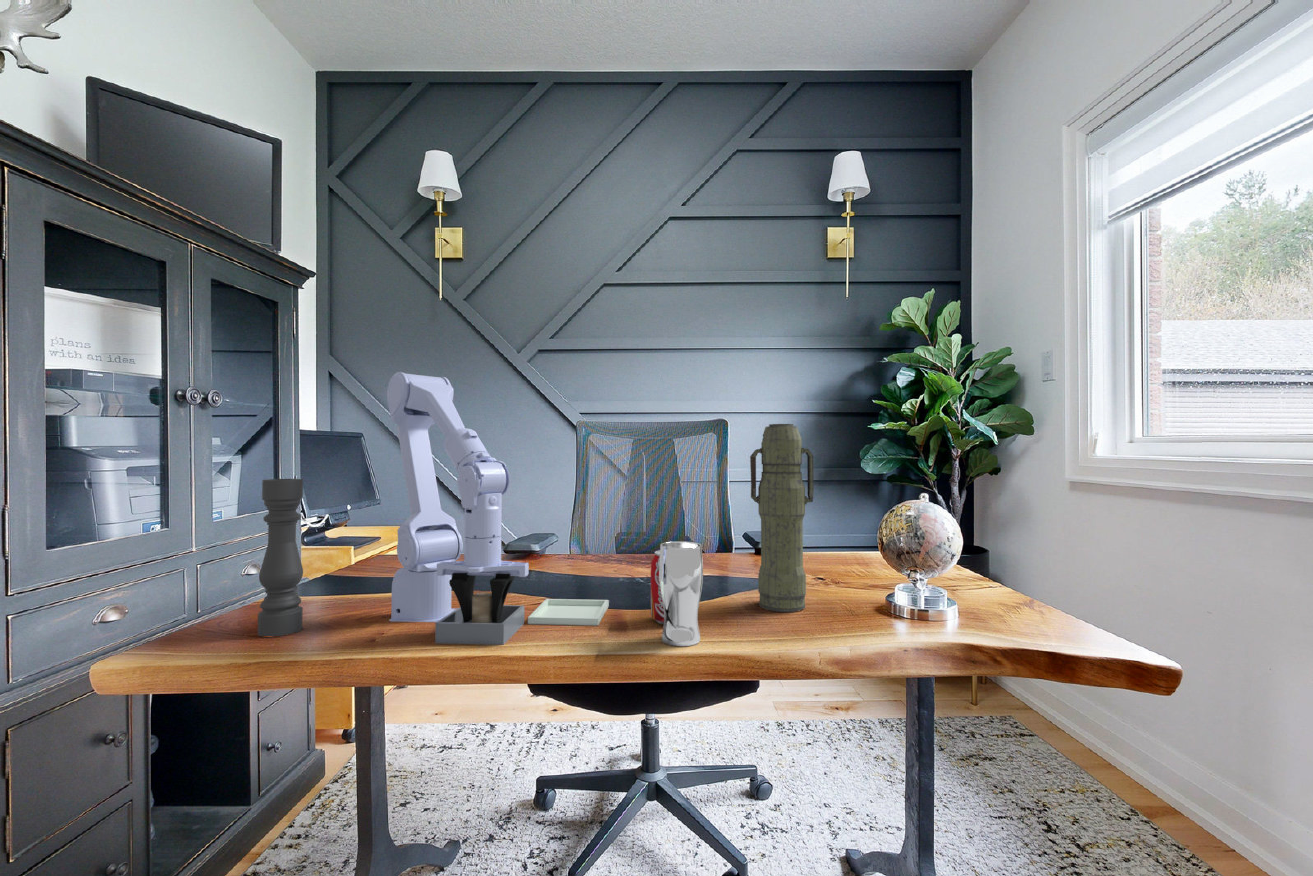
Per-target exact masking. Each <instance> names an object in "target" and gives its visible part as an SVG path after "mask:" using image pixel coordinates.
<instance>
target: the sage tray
mask: <svg viewBox="0 0 1313 876" xmlns="http://www.w3.org/2000/svg"><path fill="white" fill-rule="evenodd" d="M609 603H610V600H609V599H575V598H574V599H568V598H567V599H566V598H545V600H544V601H542V603H540V605H539V606H537V608H535V609H534V611H533V612H531V614H530V615H529V616H528V617H527V624H528V625H547V626H548V625H549V626H554V625H555V626H599V625H600V623H601V621H602V619H603V617H604V615H605V614H606V612H607V610H608V608H609V606H610V605H609Z"/></svg>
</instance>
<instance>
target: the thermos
mask: <svg viewBox="0 0 1313 876" xmlns="http://www.w3.org/2000/svg"><path fill="white" fill-rule="evenodd" d="M761 440H762V441H761V443H760V444H761V445H760V448H758V449H755V450H754V451H753V452H752V453H751V455H750V456H749V459H750V460H749V462H750V464H749V465H750V498H751V499H752V500H753V501H754V502H755V503H756V504H758V505H757V506H758V515H759V518H760V567H759V570H758V576H757V577H758V578H757V580H758V583H757V585H758V586H757V587H758V594H759V601H758V602H759V607H760V608H762V609H764V610H766V609H767V610H766V611H771V612H777V613H796V612H795V611H798V612H800V611H799V610H802V609H804V608H805V609H806V602H805V601H806V599H805V596H806V595H807V589H806V588H807V577H806V572H805V570H804V559H803V558H804V554H803V553H804V551H803V550H804V542H803V541H804V534H803V533H804V525H803V524H804V523H803V522H804V521H803V520H804V517H805V515H806V505H808V503H813V501H814V454H813V453H812V452H811V451H810V449H809V448H805V447H802V437H801V435H800V431H799V428H798V426H796V425H795V426H794V424H793V423H772V424H768V426H765V428H764V431H763V433H762V439H761ZM758 454H761V465H762V472H761V478H760V481H759V484H758V491H757V456H758ZM803 454H804V455H805V454H806V456H807V467H806V468H807V496H806V487H805V484H804V480H803V476H802V472H801V469H802V468H801V467H802V466H801V465H802V463H803V462H802V457H803V456H802V455H803ZM757 492H758V495H757ZM805 609H804V610H805ZM802 611H803V610H802Z"/></svg>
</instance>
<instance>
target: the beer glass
mask: <svg viewBox="0 0 1313 876" xmlns="http://www.w3.org/2000/svg"><path fill="white" fill-rule="evenodd" d="M702 547H703V545H702V544H701V543H699V542H696V541H685V540H684V541H666V542H663V543H660V547H659V548H660V549H659V550H660V559H659V582H660V590H661V596H662V602H663V608H664V625H663V628H662V633H661V641H662V642H663V643H664V644H666V645H669V646H672V647H691V646H695V645H697V644H699V643H700V642H701V634H700V629H699V620H698V618H699V616H698V615H699V606H700V602H701V595H702V589H703V583H704V582H703V581H704V564H703V563H704V561H703V551H702V550H703V549H702Z"/></svg>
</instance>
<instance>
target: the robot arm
mask: <svg viewBox="0 0 1313 876" xmlns="http://www.w3.org/2000/svg"><path fill="white" fill-rule="evenodd" d="M386 389H387V390H386V398H387V405H388V411H389V415H390V421H392V423H393V424H395V425H396V427H397V429H396V430H397V435H398V441H399V447H400V453H401V459H402V461H401V462H402V466H403V473H404V479H405V486H406V491H407V492H406V493H407V499H408V504H409V510H410V515H409V517H407V519H406V520H405V521H403V523H401V525H400V526H399V527H398V529H397V531H396V532H397V545H396V554H397V558H398V561H399V563H400V564H401V566H402V567H400V568H399V569H398V570H396V572H395V573H394V575H393V579H392V581H391V582H392V583H391V611H390V612H391V614H390V615H391V616H390V617H391V618H390V619H389V620H388V621H389V622H397V623H398V622H401V623H402V622H403V623H405V622H407V623H408V622H409V623H436V622H438V621H439V620H441V619H442V618H444V617H445V616H447V615H448V614H450V613H451V612H453V611H454V610H456V609H457V608H452V591H453V593H454V595H455V597H456V599H457V601H458V604H459V607H460V608H461V611H462V615H463V620H464V622H469V621H470V620H471V619H472V595H474V590H475V582H476V577H477V576H487V577H488V576H493V578H491V579H490V580H489V585H490V586H489V587H490V591H491V592H490V593H492V623H497V622H498V621H499V620H500V619H501V614H502V609H503V605H505V601H506V598H507V595H508V593H509V591H510V588H511V586H512V584H513V582H514V580H515V577H519V578H526V577H527V576H528V575H529V572H530V571H529V569H530V568H529V562H518V561H510V560H508V561H506V560H502V521H503V520H502V517H503V516H502V514H503V513H502V512H503V511H502V510H503V509H502V505H503V504H502V503H503V500H502V498H503V497H502V496H504V495H505V493H507V491H508V489H509V487H510V472H509V470H508V467H507V465H506V463H505V462H504V461H501V460H497V459H496V457H492V456H491V455H490V453H489V452H488V450H487V449H486V447H485V445H484V444H483V442H482V441H481V439H480V437H479V435H478V433H477V432H476V431H475V430H473V429H472V428H466V426H465V425H464V423H463V420H462V419H461V417H460V414H459V413H458V410H457V408H456V407H455V404H454V402H453V401H454V391H455V390H454V388H453V386H452V384H451V382H450V380H449V379H448V378H447V377H445V376H439V377H437V376H432V375H431V376H430V375H424V374H421V375H419V374H414V373H413V374H412V373H405V372H402V371H397V372H395V373H394V374H393V375H392V377H390V380H389V383H388V387H387V388H386ZM433 425H436V426H437V427H438V428H439V429H440V431H441V432H442V435H444V437H445V440H444V443H443V448H444V450H445V453H446V454H447V455H448V458H449V459H450V461H451V463H452V464H453V466H454V468H455V469H456V472H457V474H458V476H457V477H458V478H457V479H456V484H457V490H458V491H459V494H460V498H461V499H460V500H461V501H460V504H461V508H462V509H464V543H463V537H462V535H461V533H460V531H459V530H458V529H459V528H458V527H457V524H456V523H457V522H456V519H455V518H454V517H453V516H450V514H448V513H446V512H445V511H443V510H442V506H441V502H440V501H441V500H440V495H439V490H438V483H437V478H436V471H435V465H434V460H433V459H434V458H433V453H432V447H431V441H430V435H429V429H430V427H431V426H433ZM463 548H464V551H463ZM462 552H463V553H464V555H463V559H464V560H459V559H460V557H461V555H462ZM494 576H495V577H494Z"/></svg>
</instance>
